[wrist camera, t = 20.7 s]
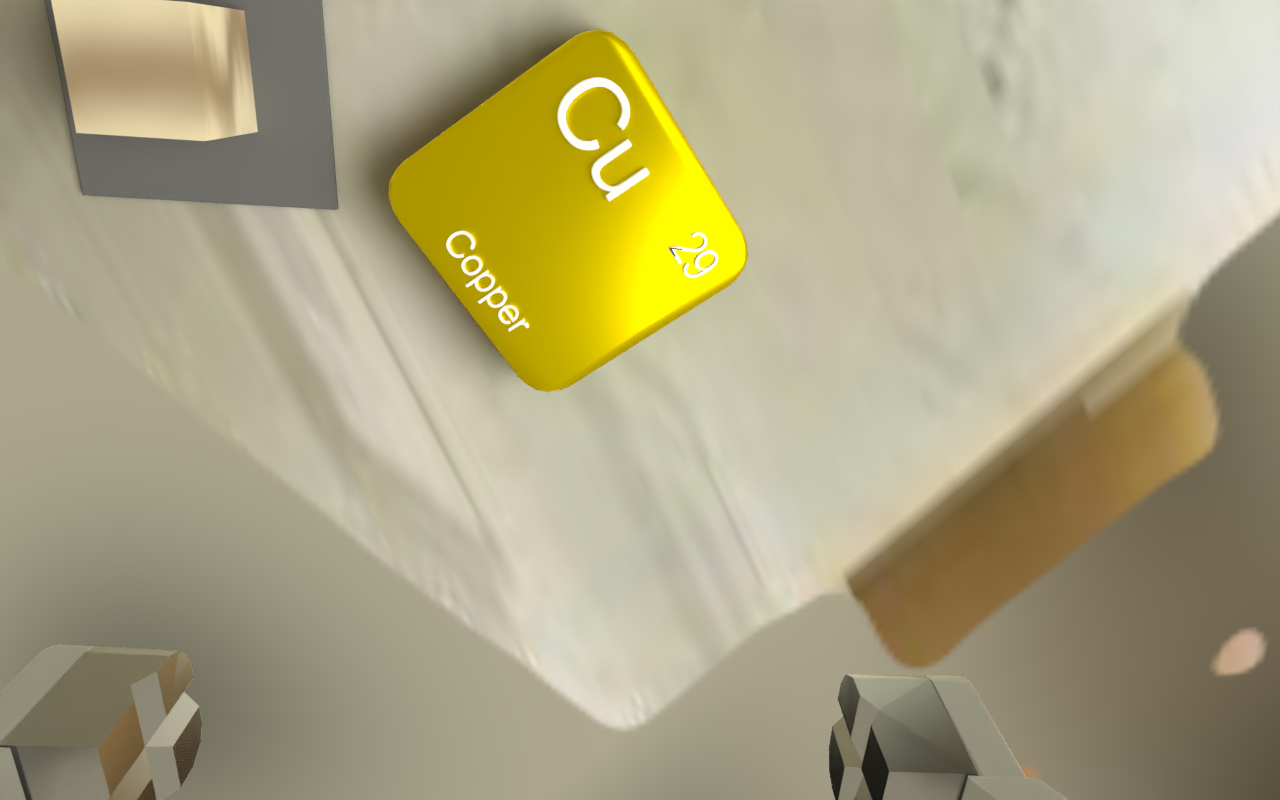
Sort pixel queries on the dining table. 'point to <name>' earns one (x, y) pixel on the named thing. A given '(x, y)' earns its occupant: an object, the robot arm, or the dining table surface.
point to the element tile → (570, 213)
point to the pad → (245, 164)
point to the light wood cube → (156, 68)
